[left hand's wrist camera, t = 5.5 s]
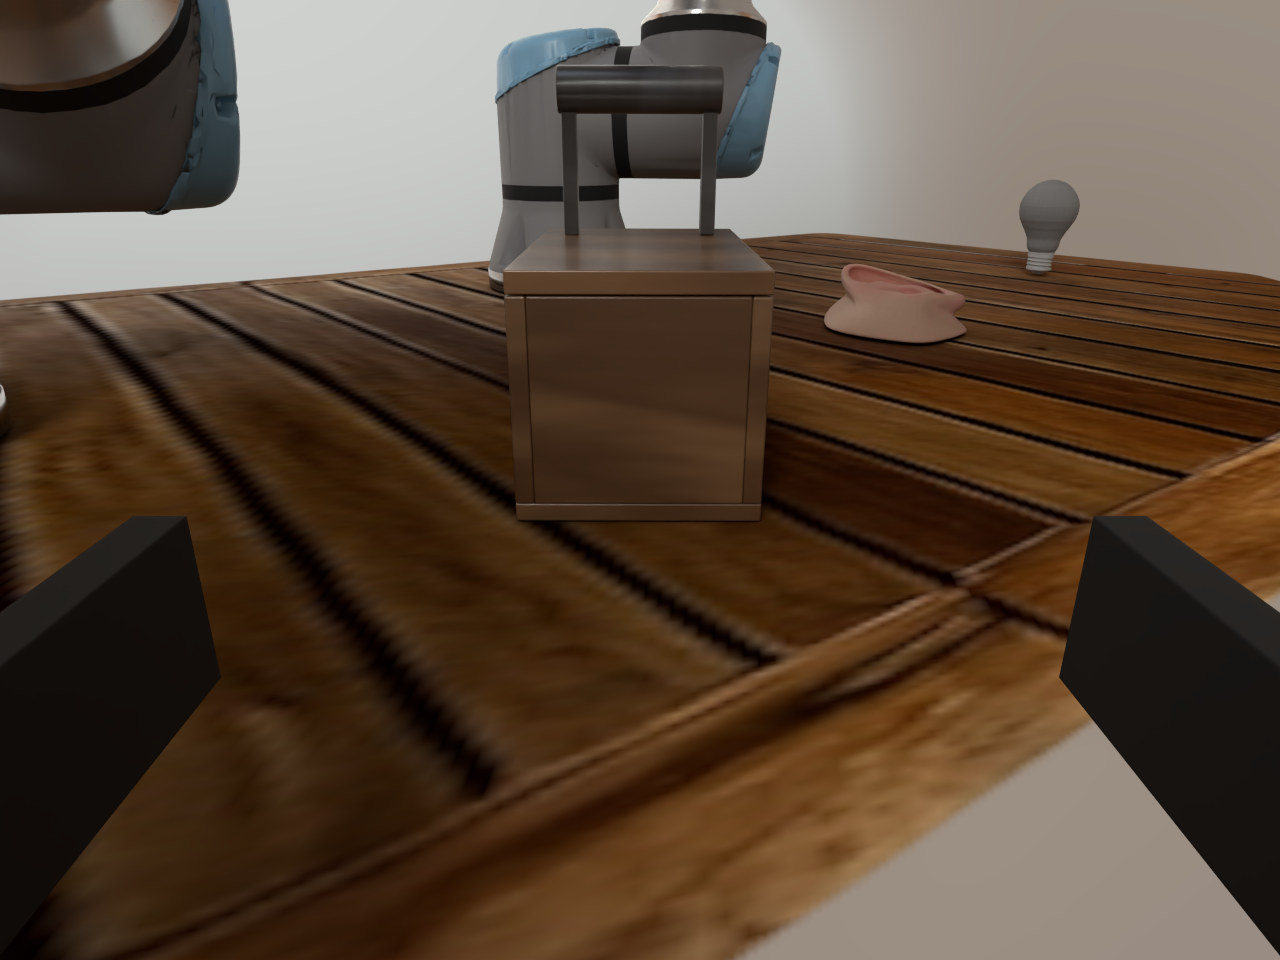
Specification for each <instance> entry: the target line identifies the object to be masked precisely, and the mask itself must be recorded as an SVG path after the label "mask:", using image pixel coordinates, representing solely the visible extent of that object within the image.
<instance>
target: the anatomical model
mask: <svg viewBox="0 0 1280 960" xmlns="http://www.w3.org/2000/svg"><path fill="white" fill-rule="evenodd" d="M841 281H842V285H843V287H844V289H845V290H846V294H845V296H844V297H843V298H841V299H840V300H839V301H838V302H836V303H835V304H834V305H833V306H832V307H831V308H830V309H829V310H828V312H827V313H826V315H825V318H824V323H825V325H826V326H827V327H828V328H830V329H832V330H834V331H838V332H841V333H845V334H850V335H855V336H861V337H867V338H874V339H881V340H888V341H897V342H907V343H930V342H937V341H942V340H946V339H950V338H954V337H957V336H959V335H962V334H964V333H965V332H966V331H967V330H966V328H965V326H964V325H963V324H962V323H960V322H959V321H958V320H957V319H956V318H955V316H954V313H955V312H956V311H957V310H959V309H960V308H962V307H963V306H964V304H965V297H964V296H963V295H961V294H958V293H955V292H952V291H949V290H946V289H943V288H940V287H938V286H935V285H932V284H929V283H926V282H923V281H920V280H916V279H913V278H909V277H906V276H903V275H899V274H896V273H892V272H889V271H886V270H882V269H878V268H875V267H871V266H866V265H861V264H850V265H847V266H845V267H844V268H843V270H842V272H841Z"/></svg>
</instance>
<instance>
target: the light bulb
mask: <svg viewBox="0 0 1280 960" xmlns="http://www.w3.org/2000/svg"><path fill="white" fill-rule="evenodd" d="M1079 207H1080V204H1079V199H1078V196H1077V194H1076V192H1075V191H1074V189H1073V188H1072V187H1071V186H1070V185H1069V184H1067V183H1065V182H1062V181H1059V180H1048V181H1044V182H1041V183H1039V184H1037V185H1035V186H1034V187H1033V188H1031V189H1030V190H1029V191H1028V192H1027V193H1026V195H1025V196H1024V198H1023V199H1022V201H1021V204H1020V211H1019V214H1020V220H1021V223H1022V225H1023V228H1024V230H1025V233H1026V236H1027V248H1028V250H1029V251H1028V252H1029V253H1028V257H1029V258H1028V260H1029V261H1028V262H1027V263H1028V265H1026V269H1027V270H1029V271H1031V272H1032V273H1035V274H1043V273H1045V272H1048V271H1050V270H1051V268H1050V266H1052V265H1050V264H1051V262H1053V261H1051V259H1053V257H1054V253H1055V251H1056V250H1057V248H1058V246H1059V243H1060V240H1061V238H1062V237H1063V235H1064V234H1065V232H1066V231H1067V230H1068V229H1069V228H1070V226H1071V225H1072V224H1073V222H1074V221H1075V219H1076V217H1077V215H1078V212H1079Z"/></svg>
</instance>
